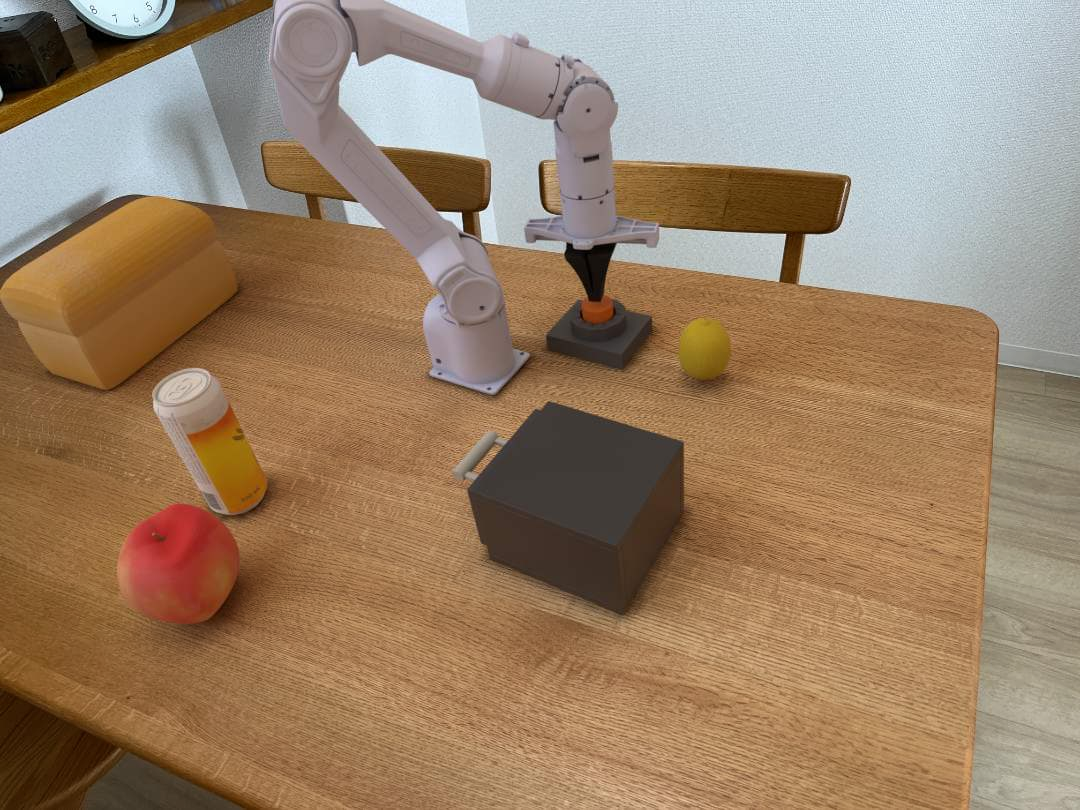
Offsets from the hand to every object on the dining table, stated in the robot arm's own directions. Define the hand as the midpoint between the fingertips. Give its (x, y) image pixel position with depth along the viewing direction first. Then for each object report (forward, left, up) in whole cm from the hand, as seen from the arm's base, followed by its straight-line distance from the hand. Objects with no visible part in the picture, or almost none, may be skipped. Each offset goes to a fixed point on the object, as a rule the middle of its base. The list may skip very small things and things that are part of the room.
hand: (596, 297), depth 93 cm
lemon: (+14, -2, -6) cm, 16 cm away
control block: (0, 0, -6) cm, 6 cm away
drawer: (+9, -27, -5) cm, 29 cm away
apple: (-15, -49, -6) cm, 52 cm away
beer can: (-22, -38, -6) cm, 44 cm away
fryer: (+13, -27, -6) cm, 31 cm away
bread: (-59, -21, -6) cm, 63 cm away
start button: (0, 0, -3) cm, 3 cm away
